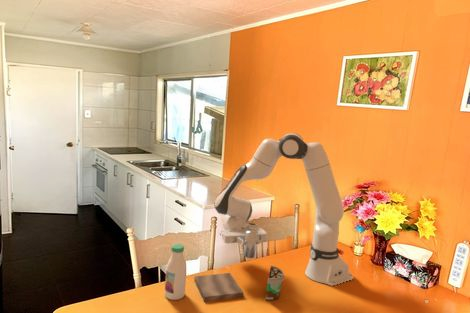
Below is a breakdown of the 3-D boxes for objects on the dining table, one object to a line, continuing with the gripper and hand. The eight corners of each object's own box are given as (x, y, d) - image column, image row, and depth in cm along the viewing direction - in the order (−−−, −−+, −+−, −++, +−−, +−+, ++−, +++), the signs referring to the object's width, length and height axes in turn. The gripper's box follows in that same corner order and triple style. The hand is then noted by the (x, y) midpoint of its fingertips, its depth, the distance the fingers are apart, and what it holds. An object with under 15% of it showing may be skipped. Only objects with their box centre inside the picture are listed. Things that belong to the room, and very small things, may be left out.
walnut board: (229, 277, 147) (229, 272, 147) (243, 296, 133) (243, 292, 132) (194, 280, 142) (194, 276, 141) (204, 301, 127) (204, 297, 127)
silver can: (252, 252, 146) (254, 228, 145) (256, 257, 142) (259, 233, 140) (241, 253, 145) (244, 229, 143) (246, 258, 140) (248, 233, 139)
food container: (281, 305, 129) (283, 281, 127) (265, 302, 130) (267, 278, 129) (282, 289, 141) (285, 267, 139) (268, 287, 142) (270, 264, 141)
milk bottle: (182, 288, 135) (186, 241, 132) (186, 299, 127) (189, 249, 125) (163, 290, 132) (166, 242, 129) (165, 301, 125) (169, 250, 122)
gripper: (218, 225, 150) (229, 237, 137) (259, 223, 158) (273, 234, 145) (217, 238, 151) (227, 251, 138) (258, 236, 158) (271, 248, 146)
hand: (251, 243), depth 142 cm, fingers closed on silver can, 5 cm apart
